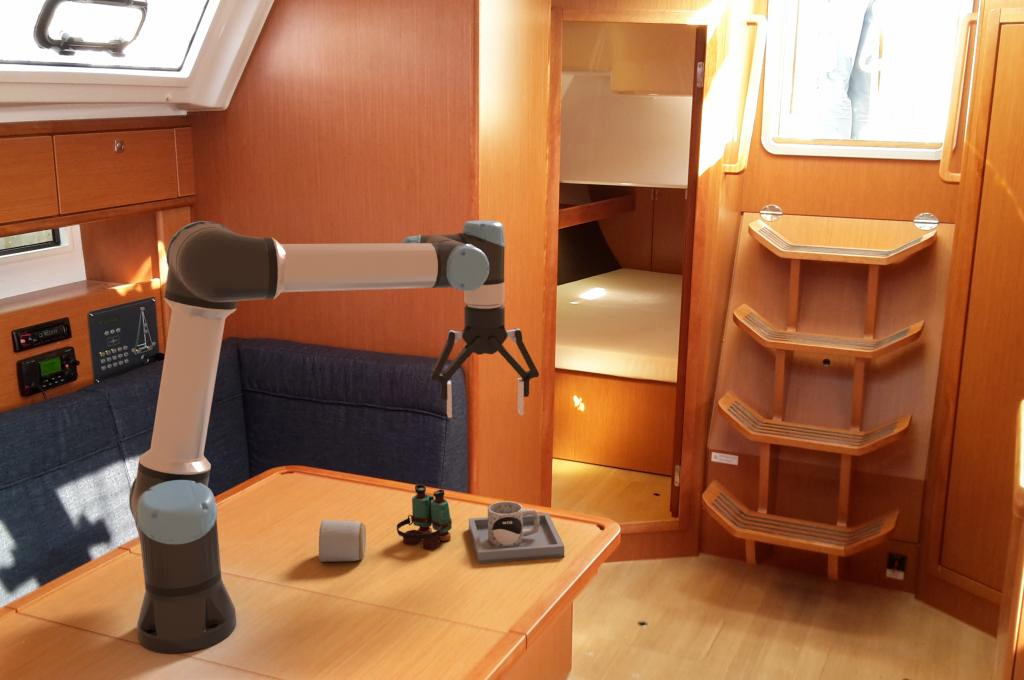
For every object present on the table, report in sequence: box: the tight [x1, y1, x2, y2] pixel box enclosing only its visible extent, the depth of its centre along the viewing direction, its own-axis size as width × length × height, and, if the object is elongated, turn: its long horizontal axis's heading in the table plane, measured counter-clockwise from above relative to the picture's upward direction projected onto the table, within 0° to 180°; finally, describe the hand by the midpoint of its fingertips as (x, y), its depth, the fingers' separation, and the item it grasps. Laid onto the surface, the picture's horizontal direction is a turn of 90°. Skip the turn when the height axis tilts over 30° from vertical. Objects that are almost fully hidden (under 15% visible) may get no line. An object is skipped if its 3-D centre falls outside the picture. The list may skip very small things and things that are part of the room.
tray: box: [468, 512, 565, 565], centre depth 197 cm, size 16×16×2 cm
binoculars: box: [396, 483, 453, 551], centre depth 197 cm, size 9×11×10 cm
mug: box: [487, 500, 540, 548], centre depth 196 cm, size 10×7×7 cm, turn 102°
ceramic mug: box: [318, 519, 367, 563], centre depth 192 cm, size 11×8×8 cm
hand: (485, 414), depth 196 cm, fingers open, 13 cm apart
